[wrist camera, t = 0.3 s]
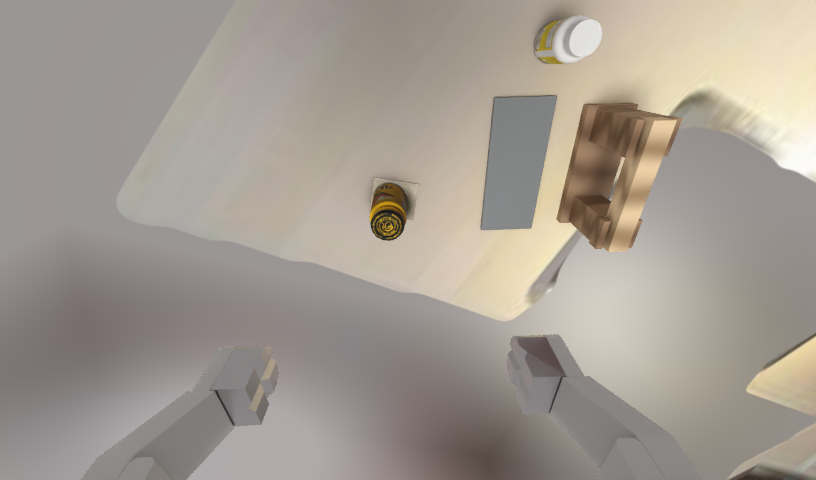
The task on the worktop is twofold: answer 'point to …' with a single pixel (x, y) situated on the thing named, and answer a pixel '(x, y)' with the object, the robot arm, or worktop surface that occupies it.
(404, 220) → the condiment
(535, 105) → the mat
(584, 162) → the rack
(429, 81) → the worktop surface
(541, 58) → the supplement bottle
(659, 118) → the rail
